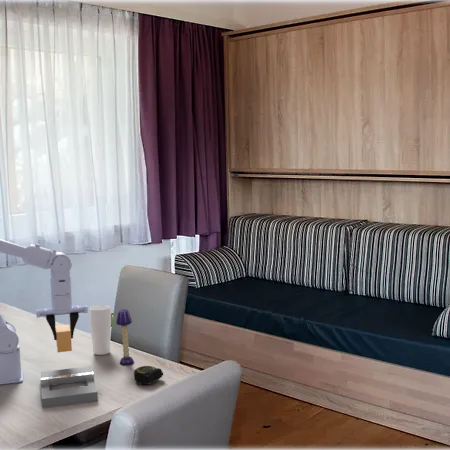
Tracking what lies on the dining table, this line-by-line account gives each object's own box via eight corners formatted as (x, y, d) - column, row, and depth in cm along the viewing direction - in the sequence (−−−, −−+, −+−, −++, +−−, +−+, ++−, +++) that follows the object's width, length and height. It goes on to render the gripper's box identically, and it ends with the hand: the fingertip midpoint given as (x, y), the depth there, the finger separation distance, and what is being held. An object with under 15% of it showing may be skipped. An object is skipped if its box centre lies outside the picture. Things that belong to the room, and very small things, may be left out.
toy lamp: (130, 366, 193) (128, 312, 191) (115, 365, 194) (113, 311, 192) (135, 360, 198) (133, 308, 195) (121, 360, 198) (119, 307, 196)
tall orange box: (57, 352, 185) (56, 332, 185) (56, 345, 192) (55, 325, 191) (71, 350, 187) (70, 330, 186) (70, 343, 193) (69, 324, 192)
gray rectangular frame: (42, 408, 164) (41, 398, 164) (41, 380, 183) (40, 371, 183) (97, 400, 168) (97, 391, 168) (91, 374, 187) (90, 366, 187)
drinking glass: (102, 357, 201) (100, 311, 199) (86, 354, 204) (84, 308, 202) (116, 351, 206) (115, 306, 204) (101, 348, 210) (99, 303, 208)
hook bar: (41, 385, 172) (40, 380, 172) (41, 383, 174) (40, 377, 174) (94, 379, 176) (93, 373, 176) (93, 377, 178) (93, 371, 178)
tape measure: (148, 388, 176) (147, 375, 176) (129, 383, 180) (128, 370, 179) (163, 380, 182) (163, 367, 181) (145, 375, 185) (144, 363, 185)
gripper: (85, 288, 193) (87, 331, 195) (35, 292, 189) (37, 336, 191) (87, 293, 186) (89, 338, 188) (35, 298, 182) (38, 344, 184)
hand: (63, 338), depth 189 cm, fingers closed on tall orange box, 4 cm apart
